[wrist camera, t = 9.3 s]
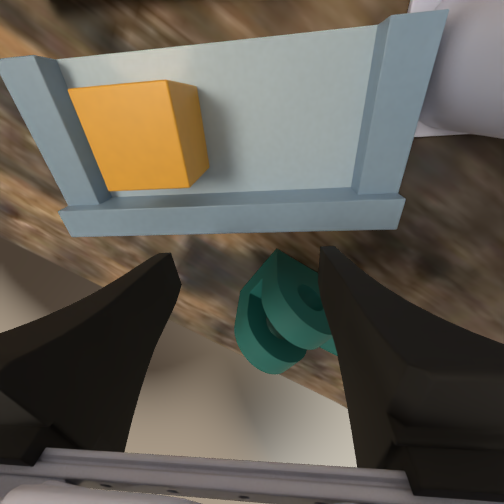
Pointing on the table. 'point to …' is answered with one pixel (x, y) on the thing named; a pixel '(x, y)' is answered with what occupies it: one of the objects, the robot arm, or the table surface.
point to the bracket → (281, 315)
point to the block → (144, 133)
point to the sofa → (251, 129)
